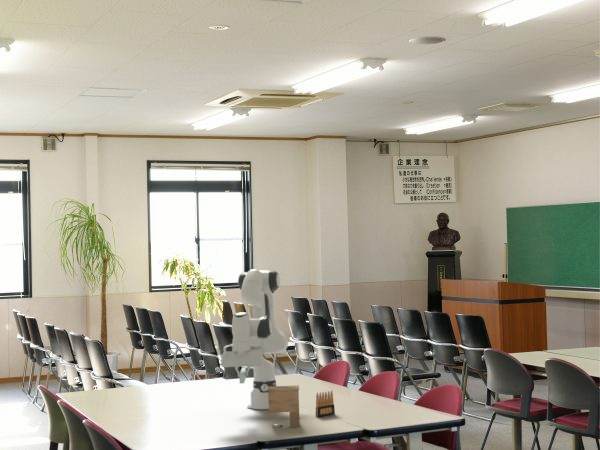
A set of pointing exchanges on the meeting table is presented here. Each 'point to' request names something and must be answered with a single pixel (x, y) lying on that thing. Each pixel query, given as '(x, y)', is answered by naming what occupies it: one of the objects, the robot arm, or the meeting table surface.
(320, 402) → the ammunition clip
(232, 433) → the meeting table surface
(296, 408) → the wooden l-shaped block
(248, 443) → the meeting table surface
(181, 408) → the meeting table surface
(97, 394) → the meeting table surface
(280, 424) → the token
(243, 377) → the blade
